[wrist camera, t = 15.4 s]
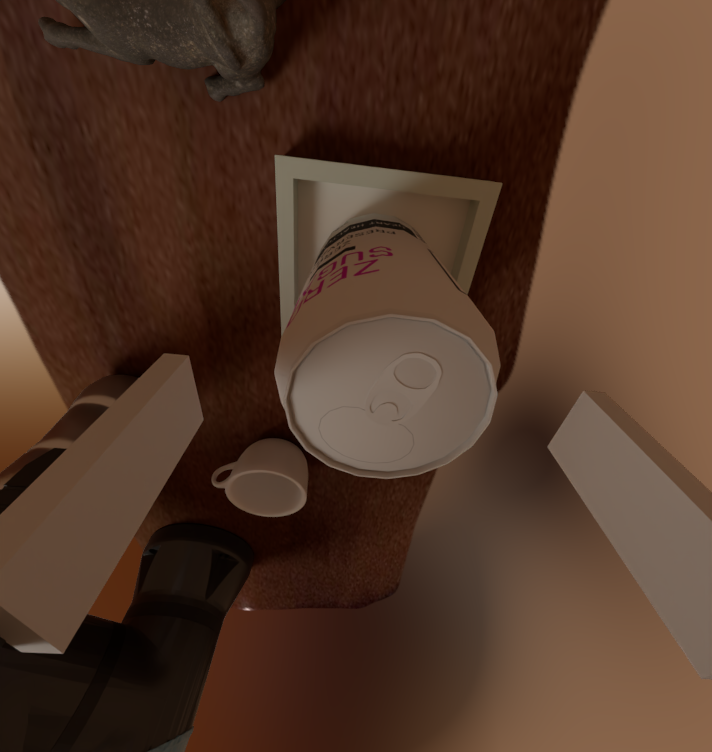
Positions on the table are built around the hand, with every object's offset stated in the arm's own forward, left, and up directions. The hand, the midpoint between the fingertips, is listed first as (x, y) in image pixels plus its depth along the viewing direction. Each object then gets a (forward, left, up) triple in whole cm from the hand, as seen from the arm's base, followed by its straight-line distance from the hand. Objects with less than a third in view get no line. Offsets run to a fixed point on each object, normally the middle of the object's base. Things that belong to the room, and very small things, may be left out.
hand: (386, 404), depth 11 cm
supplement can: (0, 0, -15) cm, 15 cm away
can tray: (0, 0, -15) cm, 15 cm away
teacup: (-21, +9, -16) cm, 28 cm away
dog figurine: (+12, +12, -16) cm, 23 cm away
